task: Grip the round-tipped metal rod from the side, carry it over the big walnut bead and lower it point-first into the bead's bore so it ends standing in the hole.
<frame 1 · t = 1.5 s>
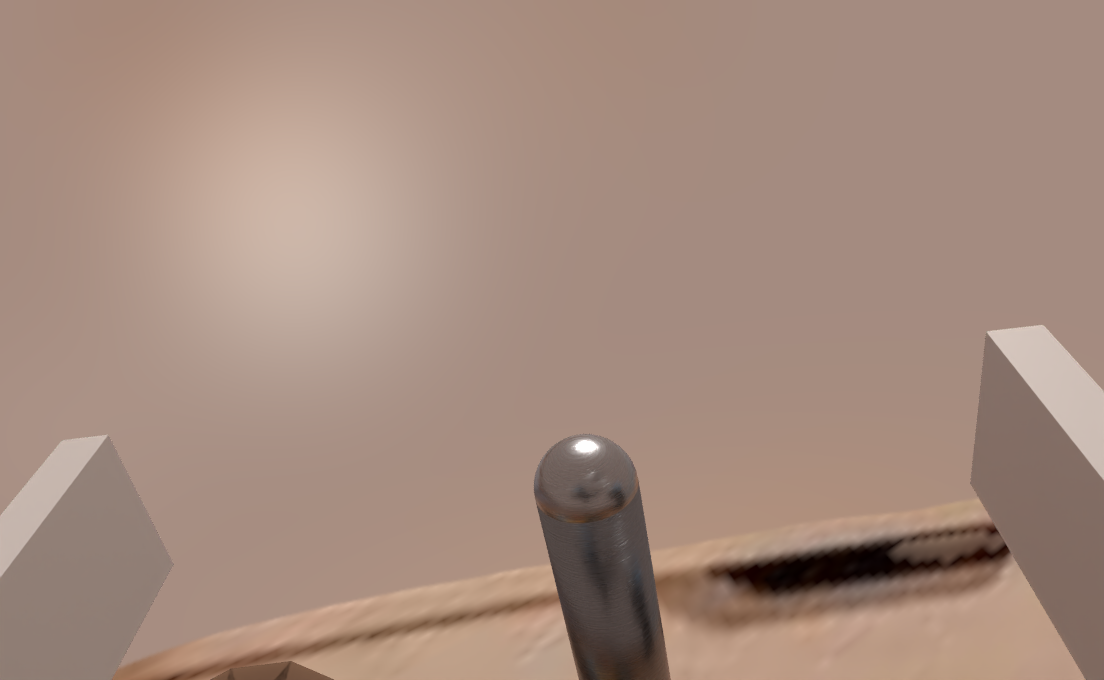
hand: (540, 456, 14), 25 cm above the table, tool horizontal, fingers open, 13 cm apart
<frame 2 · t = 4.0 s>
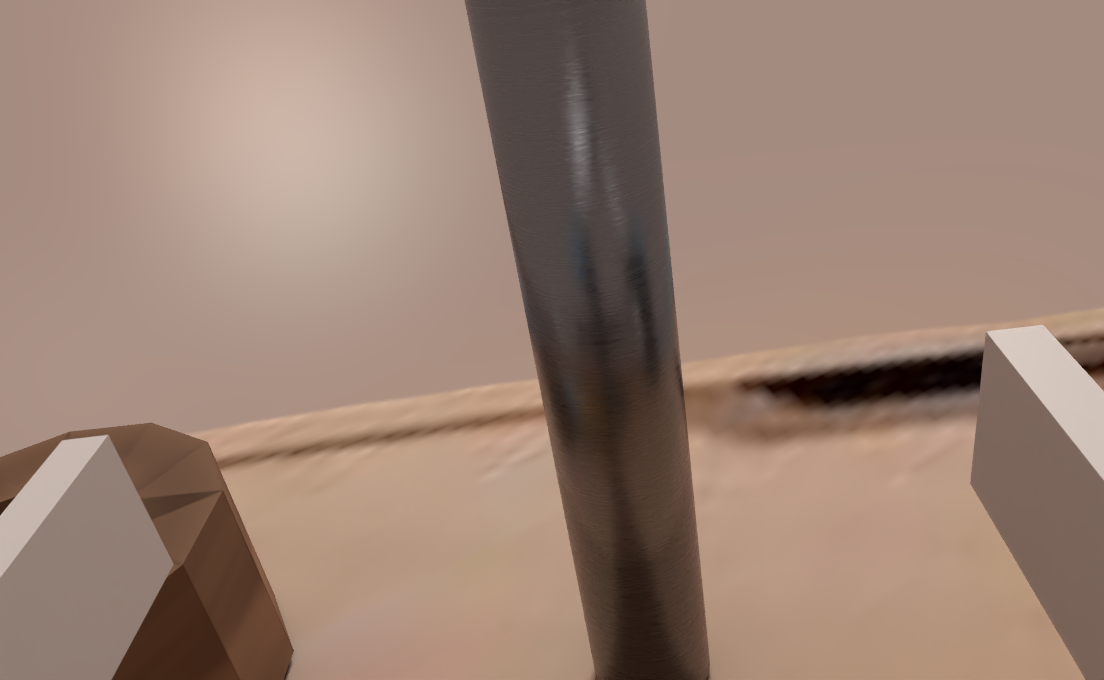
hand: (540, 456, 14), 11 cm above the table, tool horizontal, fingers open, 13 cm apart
round-tipped metal rod: (651, 662, 23), on the table
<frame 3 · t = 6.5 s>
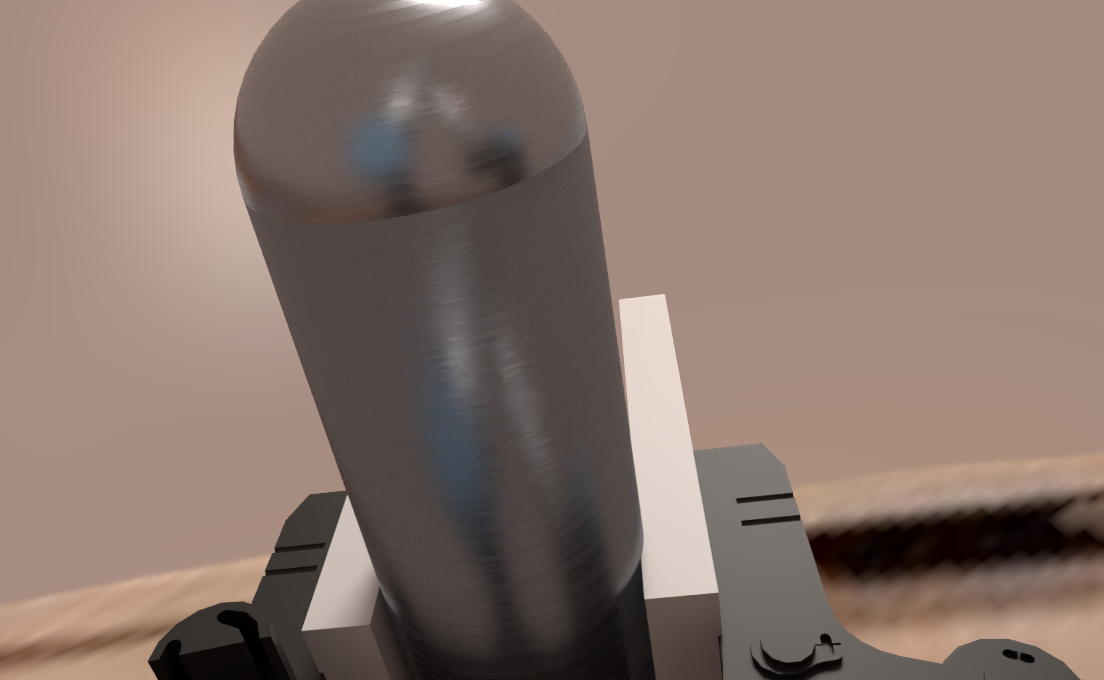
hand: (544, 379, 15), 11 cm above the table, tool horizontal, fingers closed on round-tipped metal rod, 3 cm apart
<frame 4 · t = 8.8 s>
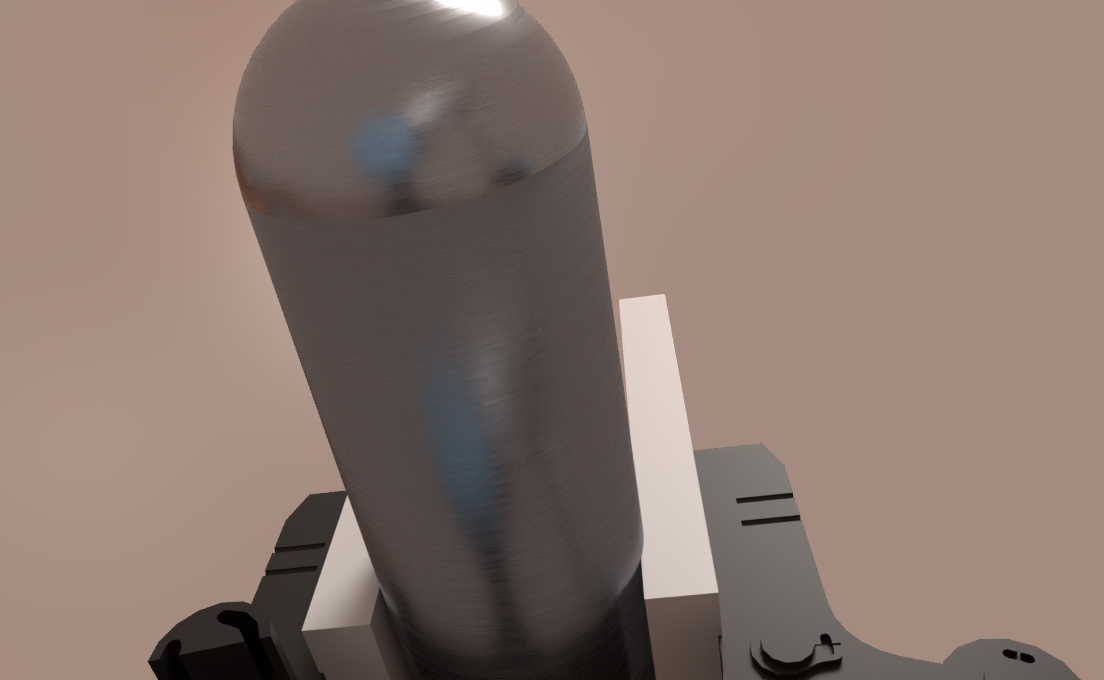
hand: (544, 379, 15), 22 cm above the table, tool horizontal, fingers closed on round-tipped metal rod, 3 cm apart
when the fingers open (12 cm above the table, at t = 11.1 s): round-tipped metal rod drops 1 cm, resting in bead.
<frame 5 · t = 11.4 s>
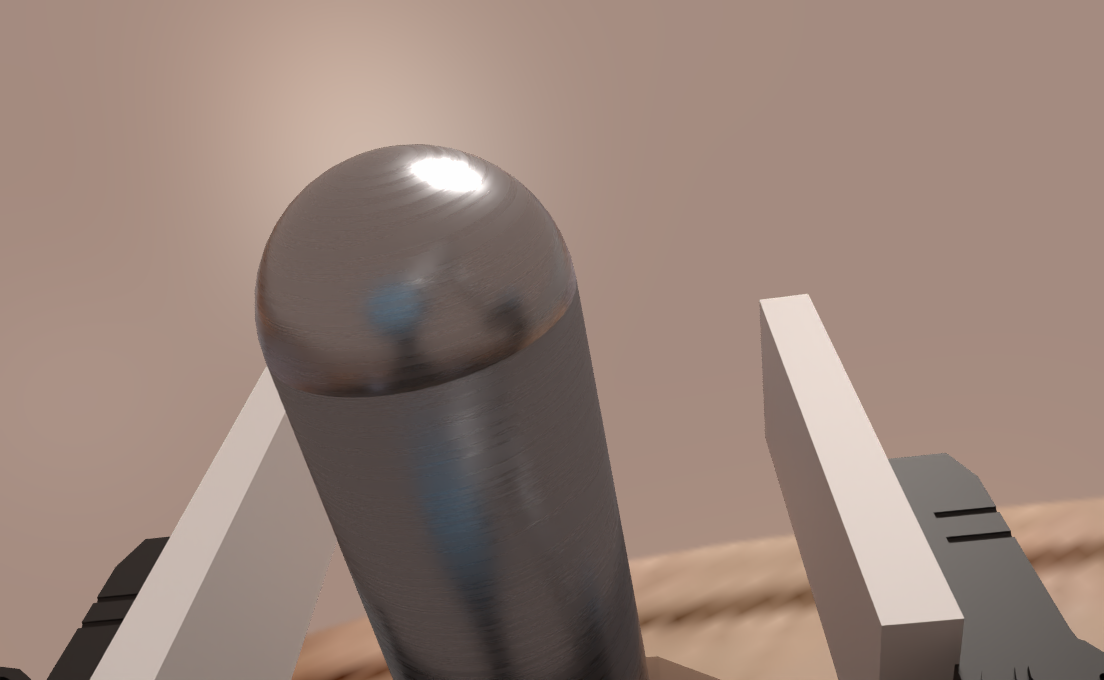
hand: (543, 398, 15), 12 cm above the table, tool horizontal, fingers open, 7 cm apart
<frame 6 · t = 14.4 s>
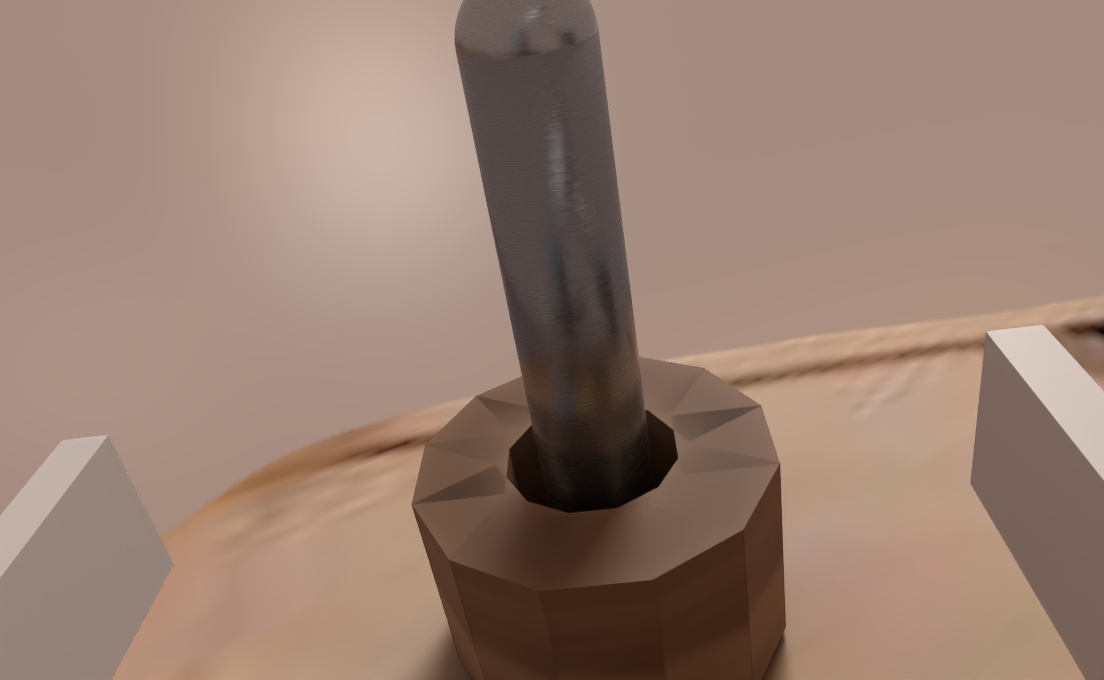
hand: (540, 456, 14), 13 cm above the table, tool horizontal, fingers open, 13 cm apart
bead: (617, 608, 27), on the table
round-tipped metal rod: (619, 609, 27), resting in bead
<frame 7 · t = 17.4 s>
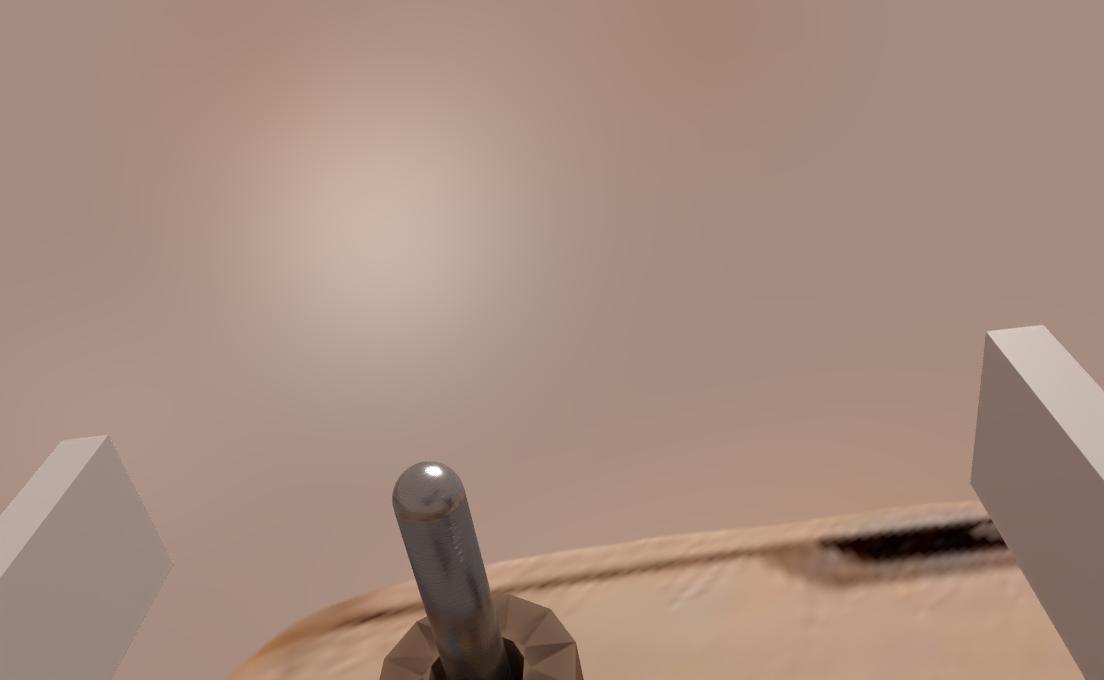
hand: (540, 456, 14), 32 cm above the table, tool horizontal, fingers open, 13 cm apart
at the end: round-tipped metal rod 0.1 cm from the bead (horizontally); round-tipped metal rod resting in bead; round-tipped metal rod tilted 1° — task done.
